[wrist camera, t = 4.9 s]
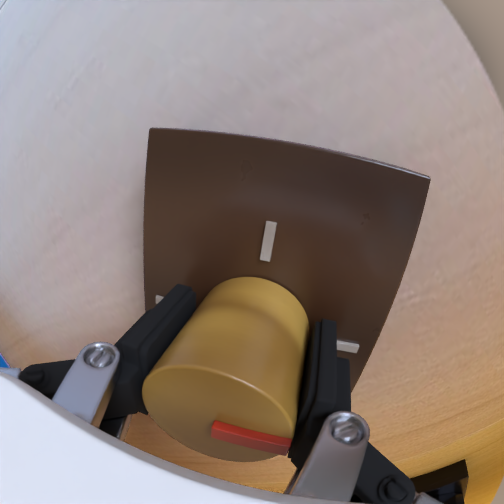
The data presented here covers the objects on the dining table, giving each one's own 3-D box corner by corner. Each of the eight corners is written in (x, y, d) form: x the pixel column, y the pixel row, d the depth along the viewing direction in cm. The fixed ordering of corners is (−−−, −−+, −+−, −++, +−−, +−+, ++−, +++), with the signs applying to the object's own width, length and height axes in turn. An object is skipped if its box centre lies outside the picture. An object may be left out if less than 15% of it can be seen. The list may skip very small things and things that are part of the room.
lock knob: (199, 351, 13) (145, 441, 8) (204, 264, 11) (125, 349, 6) (295, 376, 12) (274, 481, 7) (321, 290, 10) (312, 404, 6)
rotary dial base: (183, 128, 12) (146, 127, 10) (408, 169, 11) (433, 178, 8) (173, 363, 18) (151, 396, 15) (326, 403, 16) (323, 443, 13)
